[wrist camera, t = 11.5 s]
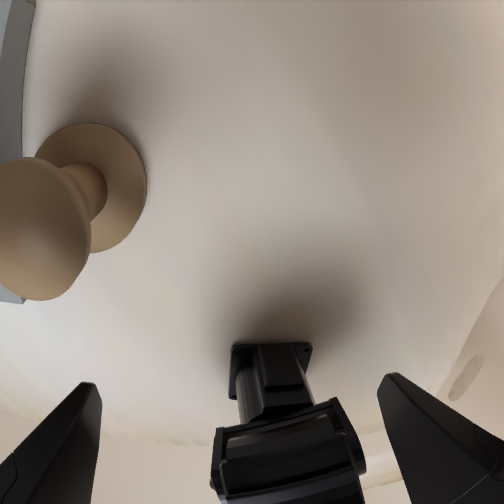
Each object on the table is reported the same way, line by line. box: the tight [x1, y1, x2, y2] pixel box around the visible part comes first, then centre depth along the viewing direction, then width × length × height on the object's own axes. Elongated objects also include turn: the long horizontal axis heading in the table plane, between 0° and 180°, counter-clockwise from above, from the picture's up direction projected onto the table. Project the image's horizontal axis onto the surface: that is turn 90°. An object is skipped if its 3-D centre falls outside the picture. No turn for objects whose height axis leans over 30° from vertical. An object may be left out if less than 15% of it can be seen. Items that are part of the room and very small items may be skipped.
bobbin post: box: [0, 123, 147, 301], centre depth 13 cm, size 8×8×8 cm
